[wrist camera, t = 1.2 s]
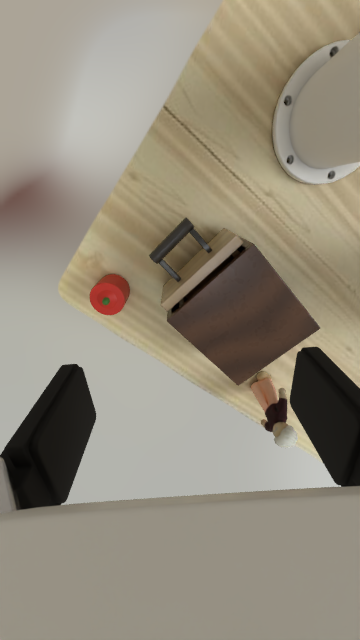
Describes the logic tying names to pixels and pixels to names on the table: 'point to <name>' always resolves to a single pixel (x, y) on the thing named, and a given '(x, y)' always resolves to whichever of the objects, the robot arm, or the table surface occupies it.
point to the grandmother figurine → (274, 410)
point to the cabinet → (243, 316)
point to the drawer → (194, 262)
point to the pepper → (110, 294)
